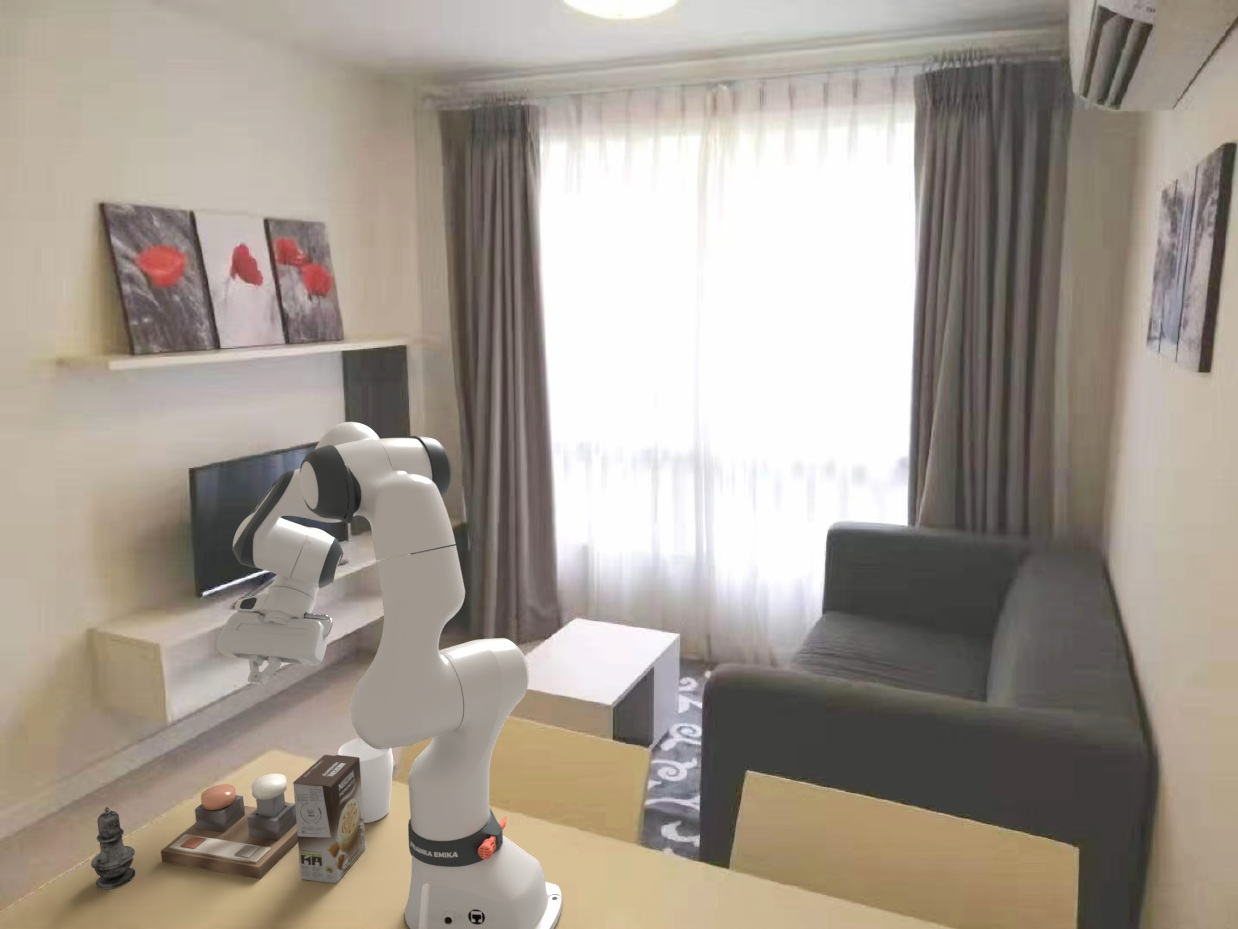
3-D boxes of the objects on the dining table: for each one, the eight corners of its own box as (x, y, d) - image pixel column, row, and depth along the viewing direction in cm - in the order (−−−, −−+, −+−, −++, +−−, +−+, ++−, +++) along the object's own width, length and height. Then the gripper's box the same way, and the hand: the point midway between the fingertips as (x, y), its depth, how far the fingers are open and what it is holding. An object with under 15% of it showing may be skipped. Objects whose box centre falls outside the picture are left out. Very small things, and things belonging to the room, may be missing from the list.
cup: (381, 792, 158) (376, 730, 156) (406, 812, 151) (401, 748, 149) (333, 812, 152) (328, 748, 150) (357, 834, 145) (352, 767, 143)
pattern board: (313, 826, 148) (311, 797, 147) (260, 879, 134) (257, 846, 133) (222, 813, 152) (219, 783, 151) (161, 862, 139) (158, 830, 138)
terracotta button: (244, 814, 148) (242, 786, 147) (223, 832, 143) (220, 803, 142) (218, 810, 149) (215, 782, 148) (196, 828, 144) (193, 799, 143)
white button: (295, 804, 145) (292, 775, 144) (275, 822, 140) (272, 792, 139) (267, 800, 146) (265, 772, 145) (247, 818, 141) (244, 788, 140)
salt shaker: (118, 893, 132) (108, 820, 129) (84, 888, 133) (74, 816, 131) (146, 868, 137) (137, 798, 135) (113, 864, 138) (104, 794, 136)
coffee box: (338, 885, 133) (330, 787, 130) (299, 880, 134) (291, 783, 131) (367, 848, 141) (360, 756, 139) (331, 844, 143) (323, 753, 140)
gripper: (343, 623, 162) (317, 695, 154) (247, 614, 167) (217, 684, 159) (328, 608, 157) (300, 682, 149) (229, 599, 162) (197, 671, 154)
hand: (256, 683), depth 154 cm, fingers closed
